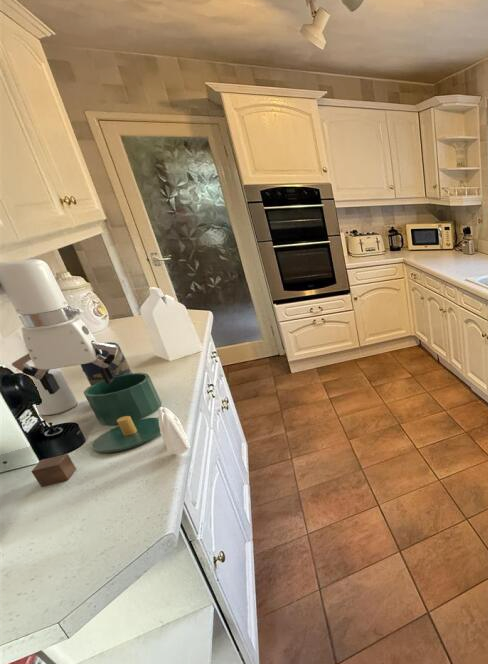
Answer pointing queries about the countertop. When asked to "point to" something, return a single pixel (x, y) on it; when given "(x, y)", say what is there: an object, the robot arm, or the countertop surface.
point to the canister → (117, 364)
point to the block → (54, 470)
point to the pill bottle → (57, 400)
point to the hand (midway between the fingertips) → (83, 386)
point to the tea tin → (123, 398)
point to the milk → (169, 326)
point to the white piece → (172, 432)
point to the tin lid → (127, 434)
